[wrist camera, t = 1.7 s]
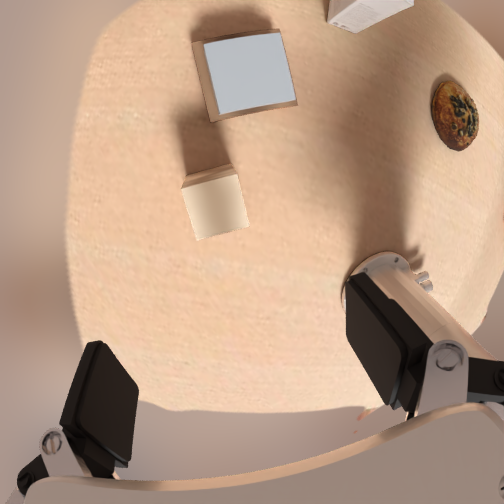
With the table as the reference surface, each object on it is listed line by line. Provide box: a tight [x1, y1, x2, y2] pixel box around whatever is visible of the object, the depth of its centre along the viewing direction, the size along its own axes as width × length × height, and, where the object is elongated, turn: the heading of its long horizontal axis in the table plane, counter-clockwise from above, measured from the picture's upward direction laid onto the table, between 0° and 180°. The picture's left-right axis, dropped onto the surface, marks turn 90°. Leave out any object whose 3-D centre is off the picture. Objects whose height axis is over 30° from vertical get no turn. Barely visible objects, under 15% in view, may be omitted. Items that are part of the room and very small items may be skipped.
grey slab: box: [204, 33, 296, 115], centre depth 22 cm, size 7×7×3 cm
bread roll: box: [432, 81, 479, 151], centre depth 28 cm, size 11×11×5 cm
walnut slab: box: [192, 29, 298, 123], centre depth 25 cm, size 9×9×3 cm
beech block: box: [181, 164, 250, 240], centre depth 27 cm, size 5×5×7 cm
